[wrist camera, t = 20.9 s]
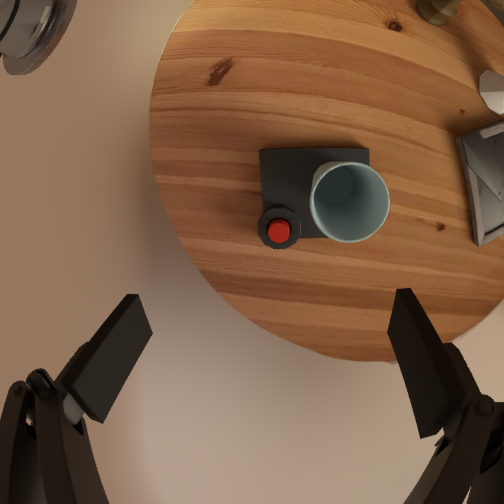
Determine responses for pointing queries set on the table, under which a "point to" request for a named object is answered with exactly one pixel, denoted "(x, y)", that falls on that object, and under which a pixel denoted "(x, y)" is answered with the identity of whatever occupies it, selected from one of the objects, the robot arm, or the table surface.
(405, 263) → the table surface
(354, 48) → the table surface
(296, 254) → the table surface
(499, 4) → the kendama
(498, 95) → the flask
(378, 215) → the cup
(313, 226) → the scale
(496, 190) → the picture frame
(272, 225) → the button
